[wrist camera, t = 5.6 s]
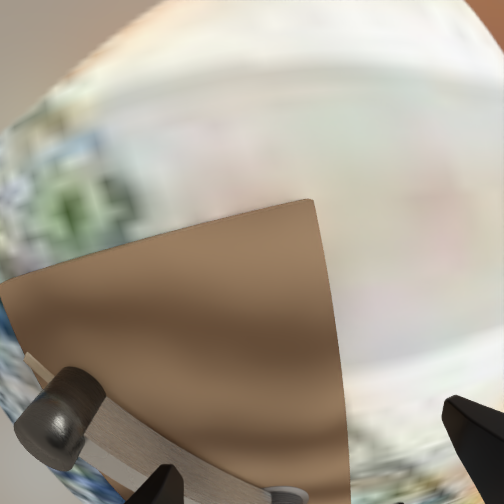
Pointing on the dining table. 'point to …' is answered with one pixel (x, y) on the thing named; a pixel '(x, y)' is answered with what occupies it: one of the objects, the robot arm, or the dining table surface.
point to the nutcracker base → (207, 344)
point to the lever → (120, 443)
